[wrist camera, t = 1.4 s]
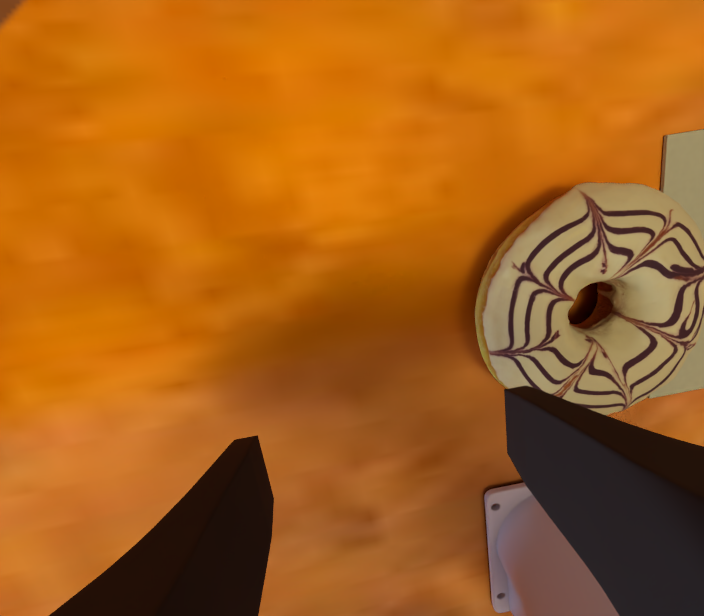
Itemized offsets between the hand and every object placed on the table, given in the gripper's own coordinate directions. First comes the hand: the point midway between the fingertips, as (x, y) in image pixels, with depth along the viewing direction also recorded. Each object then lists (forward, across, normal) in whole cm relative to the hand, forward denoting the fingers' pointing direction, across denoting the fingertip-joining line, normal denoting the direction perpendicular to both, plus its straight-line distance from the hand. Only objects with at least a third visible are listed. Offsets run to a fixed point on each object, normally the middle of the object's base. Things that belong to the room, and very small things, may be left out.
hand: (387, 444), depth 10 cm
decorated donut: (+10, -11, 0) cm, 15 cm away
